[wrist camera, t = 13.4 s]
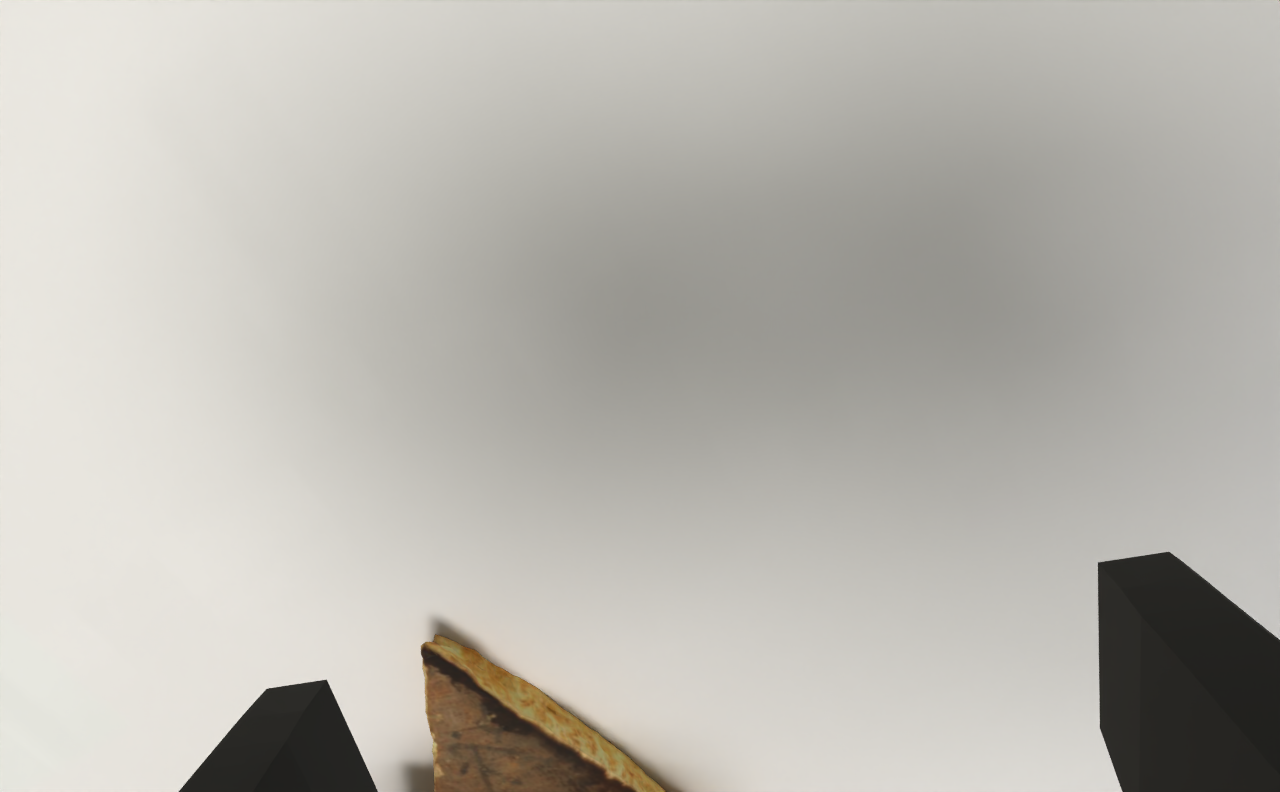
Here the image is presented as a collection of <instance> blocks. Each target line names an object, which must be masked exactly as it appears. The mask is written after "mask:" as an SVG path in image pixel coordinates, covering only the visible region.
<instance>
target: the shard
mask: <svg viewBox="0 0 1280 792" xmlns="http://www.w3.org/2000/svg"><path fill="white" fill-rule="evenodd" d="M421 655H422V657H423V672H424V676H425V699H426V714H427V719H428V723H429V728H430V732H431V735H432V738H433V749H432V753H433V766H434V785H435V787H434V792H666V791H665V790H664V789H663V788H662V787H660V786H659V785H658V784H657V783H656V782H655V781H654V780H652V779H651V778H650V777H648V776H647V775H646V774H645V773H644V771H643V770H642V769H641V768H640V767H639V766H637V765H636V764H635V763H634V762H633V761H632V760H631V759H630V758H629V757H628V756H627V755H625V754H624V753H623V752H622V751H620V750H619V749H617V748H616V747H615V746H614V745H612V744H611V743H610V742H608V741H607V740H606V739H604V738H603V737H602V736H600V735H599V733H597V732H596V731H594V730H592V729H590V728H589V727H587V726H586V725H585V724H583V722H581V721H580V720H579V719H578V718H576V717H575V716H573V715H572V714H571V713H570V712H568V711H566V710H564V709H562V708H561V707H560V706H559V705H558V704H556V703H555V702H554V701H553V700H552V699H550V698H549V697H548V696H546V695H545V694H544V693H543V692H542V691H540V690H539V689H538V688H536V687H535V686H533V685H531V684H529V683H528V682H526V681H525V680H523V679H521V678H519V677H517V676H513V675H512V674H510V673H509V672H507V671H506V670H504V669H502V668H500V667H497V666H495V665H494V664H492V663H491V662H489V661H488V660H486V659H485V658H484V657H482V656H481V655H480V654H479V653H478V652H477V651H476V650H473V649H470V648H467V647H464V646H462V645H460V644H458V643H457V642H454V641H452V640H450V639H447V638H445V637H442V636H439V635H436V634H435V637H434V641H433V642H425V643H424V644H423V645H421Z"/></svg>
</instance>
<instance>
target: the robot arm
mask: <svg viewBox="0 0 1280 792" xmlns="http://www.w3.org/2000/svg"><path fill="white" fill-rule="evenodd" d="M1098 606H1099V687H1100V729H1101V732H1102V735H1103V738H1104V741H1105V743H1106V746H1107V749H1108V752H1109V755H1110V758H1111V760H1112V763H1113V766H1114V769H1115V772H1116V775H1117V777H1118V780H1119V783H1120V786H1121V789H1122V791H1123V792H1280V640H1279V639H1278V638H1277V637H1275V636H1274V635H1273V634H1272V633H1270V632H1269V631H1268V630H1267V629H1265V628H1264V627H1263V626H1261V625H1260V624H1259V623H1258V622H1256V621H1255V620H1254V619H1253V618H1251V617H1250V616H1249V615H1248V614H1246V613H1245V612H1244V611H1243V610H1242V609H1240V608H1239V607H1238V606H1237V605H1235V604H1234V603H1233V602H1232V601H1230V600H1229V599H1228V598H1227V597H1225V596H1224V595H1223V594H1222V593H1221V592H1219V591H1218V590H1217V589H1216V588H1214V587H1213V586H1212V585H1211V584H1210V583H1208V582H1207V581H1206V580H1205V579H1203V578H1202V577H1201V576H1200V575H1198V574H1197V573H1196V572H1195V571H1193V570H1192V569H1191V568H1190V567H1189V566H1187V565H1186V564H1185V563H1184V562H1182V561H1181V560H1180V559H1178V558H1177V557H1175V556H1174V555H1173V554H1171V553H1170V552H1165V553H1158V554H1151V555H1145V556H1138V557H1132V558H1125V559H1119V560H1112V561H1105V562H1099V563H1098ZM179 792H378V791H377V789H376V787H375V784H374V782H373V780H372V778H371V776H370V773H369V771H368V769H367V767H366V765H365V762H364V760H363V758H362V756H361V754H360V752H359V749H358V747H357V745H356V743H355V741H354V738H353V736H352V734H351V732H350V730H349V727H348V725H347V723H346V721H345V719H344V717H343V714H342V712H341V710H340V708H339V706H338V703H337V701H336V699H335V697H334V695H333V693H332V690H331V688H330V686H329V684H328V682H327V680H322V681H315V682H308V683H302V684H295V685H289V686H282V687H276V688H269V689H266V690H265V691H264V692H263V694H262V695H261V696H260V697H259V698H258V699H257V700H256V701H255V702H254V703H253V705H252V706H251V707H250V708H249V709H248V710H247V711H246V712H245V714H244V715H243V716H242V717H241V718H240V719H239V721H238V722H237V723H236V724H235V725H234V726H233V728H232V729H231V730H230V731H229V732H228V733H227V735H226V736H225V737H224V738H223V739H222V741H221V742H220V743H219V744H218V745H217V747H216V748H215V749H214V750H213V751H212V753H211V754H210V755H209V756H208V757H207V759H206V760H205V761H204V762H203V763H202V764H201V766H200V767H199V768H198V769H197V770H196V772H195V773H194V774H193V775H192V776H191V778H190V779H189V780H188V781H187V782H186V784H185V785H184V786H183V787H182V788H181V790H180V791H179Z"/></svg>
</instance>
